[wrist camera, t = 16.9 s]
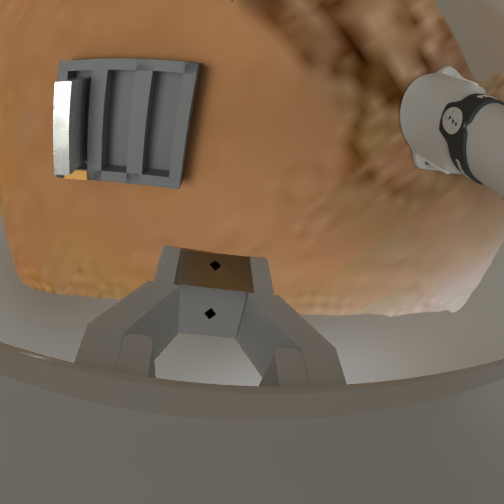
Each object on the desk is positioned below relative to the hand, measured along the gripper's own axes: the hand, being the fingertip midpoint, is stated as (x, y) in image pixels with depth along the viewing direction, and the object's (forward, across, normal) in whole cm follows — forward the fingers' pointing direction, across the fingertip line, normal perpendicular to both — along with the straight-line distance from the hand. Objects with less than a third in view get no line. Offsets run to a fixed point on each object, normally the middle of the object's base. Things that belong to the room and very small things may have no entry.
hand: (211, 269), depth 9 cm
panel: (+33, +19, +3) cm, 38 cm away
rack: (+34, +13, +3) cm, 37 cm away
